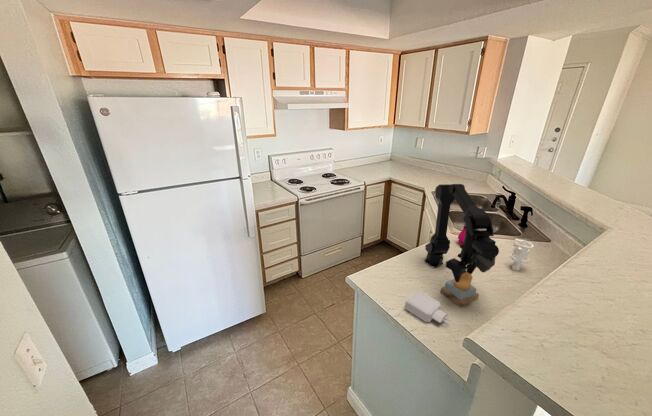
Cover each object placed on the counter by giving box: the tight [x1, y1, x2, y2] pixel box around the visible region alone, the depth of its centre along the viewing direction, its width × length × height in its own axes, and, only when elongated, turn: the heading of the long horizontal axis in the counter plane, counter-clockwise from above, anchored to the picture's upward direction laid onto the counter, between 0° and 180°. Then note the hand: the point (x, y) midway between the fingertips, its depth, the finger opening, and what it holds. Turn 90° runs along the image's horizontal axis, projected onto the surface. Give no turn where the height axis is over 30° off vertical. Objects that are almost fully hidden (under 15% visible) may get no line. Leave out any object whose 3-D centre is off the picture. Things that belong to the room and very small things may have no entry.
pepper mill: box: [457, 221, 466, 247], centre depth 143 cm, size 7×7×20 cm
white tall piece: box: [509, 238, 534, 272], centre depth 124 cm, size 7×7×15 cm
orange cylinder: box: [453, 272, 473, 290], centre depth 105 cm, size 6×6×5 cm
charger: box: [404, 290, 452, 324], centre depth 98 cm, size 5×9×15 cm
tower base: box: [439, 285, 480, 309], centre depth 108 cm, size 10×10×3 cm
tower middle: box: [443, 278, 477, 300], centre depth 107 cm, size 8×8×3 cm
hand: (462, 278), depth 105 cm, fingers open, 7 cm apart
